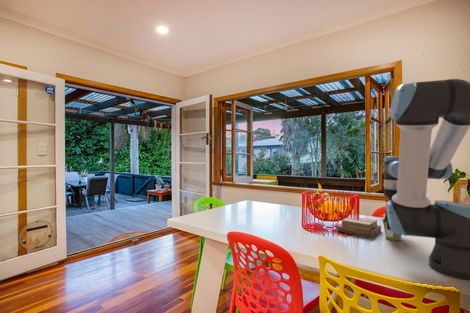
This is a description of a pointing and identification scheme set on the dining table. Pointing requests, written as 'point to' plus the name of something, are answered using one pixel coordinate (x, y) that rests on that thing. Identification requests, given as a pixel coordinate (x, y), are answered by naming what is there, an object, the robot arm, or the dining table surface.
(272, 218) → the dining table surface
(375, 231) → the plinth
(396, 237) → the plant pot
